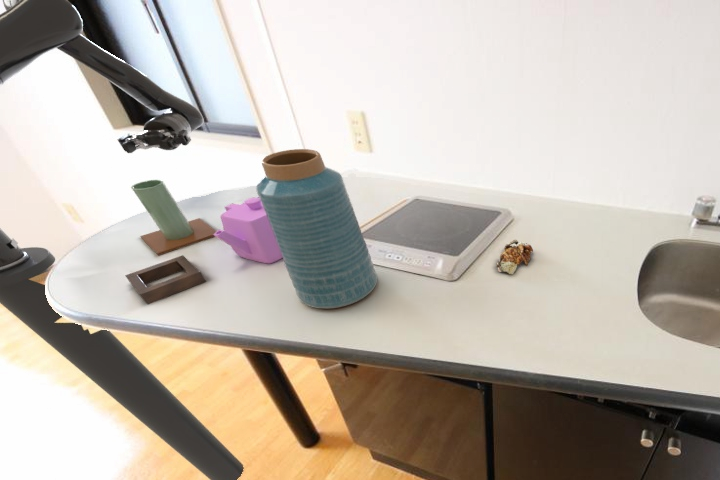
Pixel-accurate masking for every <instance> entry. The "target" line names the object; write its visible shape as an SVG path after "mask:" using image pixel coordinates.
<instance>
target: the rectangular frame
mask: <svg viewBox="0 0 720 480" xmlns="http://www.w3.org/2000/svg"><path fill="white" fill-rule="evenodd" d="M182 271H184V273H183V274H180V275H178V276H177V275H176V276H174V277H171V278H169V279H166V280H164V281H160V282H158V283H156V284H152V285H151V286H147V284H149V283H152V282H155V281H157V280H160V279H163V278H166V277H169V276H171V275H173V274H177V273H179V272H182ZM124 276H125V278H126V279H127V280H128V282H129V283H130V284H131V286H132V287H133V288H134V290H135V291H136V292H137V294H138V295H139V297H141V298H142V300H143V301H144V302H145V303H146V304H147V305H150V304H153V303H155V302H158V301H160V300H163V299H165V298H168V297H171V296H173V295H175V294H178V293H180V292H183V291H186V290H188V289H191V288H193V287H196V286H198V285H201V284H203V283H206V282H207V279H206V278H205V277H204V275H203V273H202V272H201V271H200V270H199V269H198V268H197V267H196V266H195V265H194V264H193V263H192V262H191V261H190V260H189V259H188V258H186V256H185V255H179V256H176V257H174V258H171V259H168V260H165V261H162V262H160V263H159V262H158V263H156V264H153V265H151V266H148V267H145V268H142V269H139V270H137V271H133V272H131V273H127V274H125V275H124Z"/></svg>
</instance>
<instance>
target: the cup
mask: <svg viewBox="0 0 720 480" xmlns="http://www.w3.org/2000/svg"><path fill="white" fill-rule="evenodd" d="M130 189H131V190H132V192H133V193H134V195H135V196H136V198H137V199H138V201H139V202H140V203H141V205H142V206H143V208H144V209H145V211H146V212H147V214H148V215H149V216H150V218H151V219H152V221H153V222H154V224H155V225H156V226H157V228H158V229H159V230H160V231H161V232H162V233H163V235H164V236H165V238H166V239H169V240H176V239H181V238H185V237H187V236H189V235H191V234H192V233H193V229H192V227H191V225H190V224H189V222H188V219H187V218H186V216H185V214H184V212H183V211H182V209H181V208H180V206H179V205H178V203H177V201H176V200H175V198H174V196H173V195H172V193H171V192H170V190H169V189H168V187H167V186H166V184H165V182H164V181H163V180H162V179H150V180H144V181H140V182H138V183H135V184H133V185H132V186H131V187H130Z"/></svg>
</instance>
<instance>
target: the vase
mask: <svg viewBox="0 0 720 480" xmlns="http://www.w3.org/2000/svg"><path fill="white" fill-rule="evenodd" d="M261 165H262V168H263V172H264V173H265V176H264V177H263V178H261V180H260V181H259V182H257V184H256V187H255V189H256V194H257V195H258V197H259V198H260V201H261V202H262V205H263V207H264V211H265V212H266V216H267V218H268V221H269V224H270V226H271V229H272V231H273V234H274V236H275V239H276V241H277V244H278V246H279V249H280V251H281V254H282V257H283V258H282V259H283V263H284V265H285V268H286V271H287V273H288V277H289V279H290V280H291V283H292V286H293V288H294V291H295V293H296V296H297V298H298V299H299V301H300V302H302V303H303V304H305V305H306V306H307V307H308V306H309V307H310V308H311V307H312V308H316V309H339V308H343V307H347V306H350V305H353V304H355V303H358V302H359V301H361V300H362V299H364V298H365V297H367V296H369V294H371V293H372V292H373V290H374V289H375V287H376V285H377V283H378V275H377V271H376V269H375V268H374V263H373V261H372V256H371V254H370V252H369V248H368V246H367V243H366V241H365V238H364V236H363V233H362V230H361V228H360V227H361V226H360V224H359V221H358V219H357V215H356V213H355V210H354V206H353V204H352V202H351V199H350V196H349V193H348V190H347V188H346V183H345V182H344V178H343V175H342V174H341V173H340V172H339V171H338V170H335V169H333V168H330V167H329V166H326V165H325V163H324V160H323V157H322V155H321V153H320V152H319V151H317V150H315V149H310V148H309V149H308V148H307V149H306V148H297V149H288V150H287V149H286V150H281V151H277V152H273V153H271V154H268V155H266V156H264V157H263V158H262V159H261Z"/></svg>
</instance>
